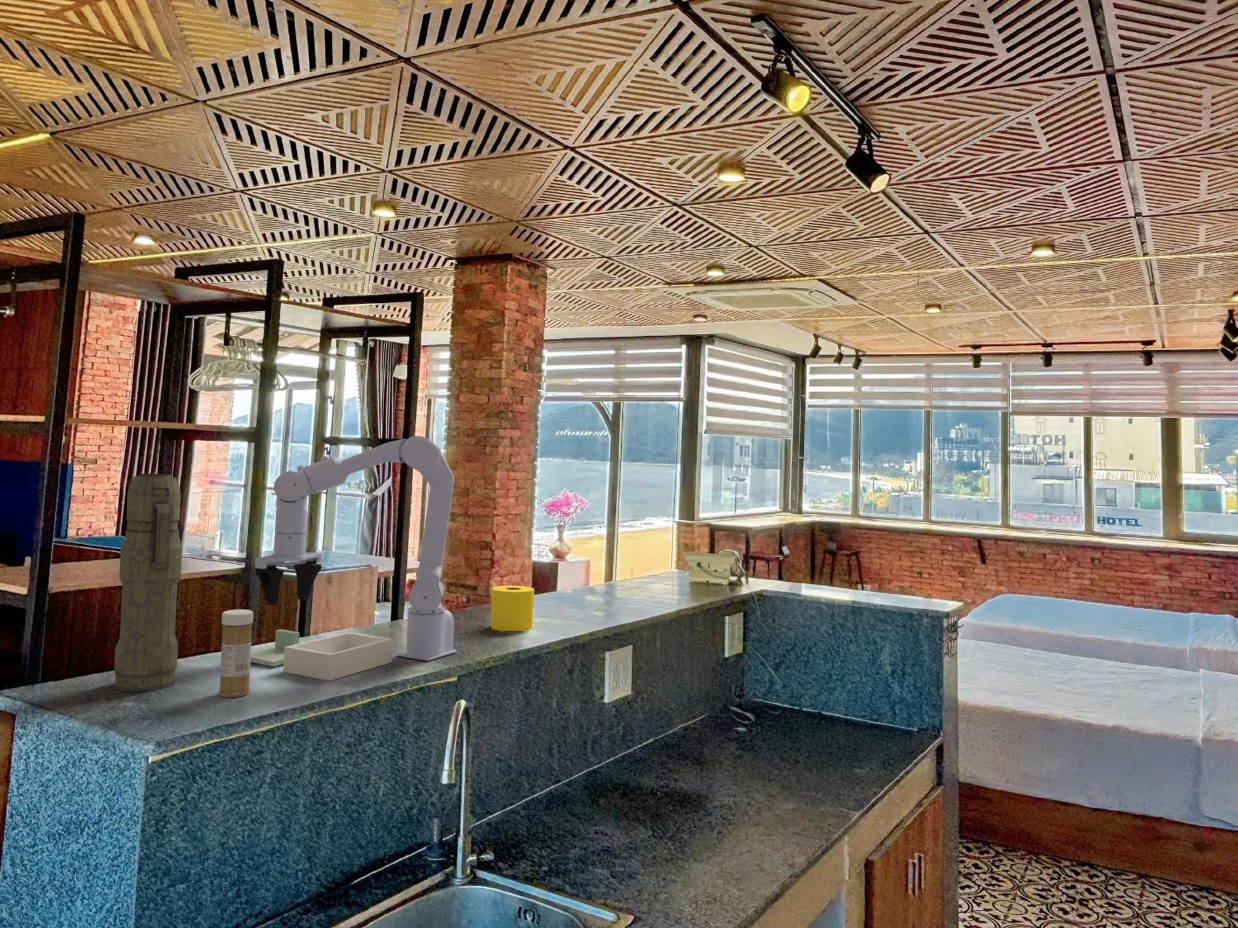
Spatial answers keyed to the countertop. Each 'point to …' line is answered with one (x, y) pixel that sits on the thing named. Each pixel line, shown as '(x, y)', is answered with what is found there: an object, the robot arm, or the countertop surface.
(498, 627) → the yellow paper roll
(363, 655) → the tub
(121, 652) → the thermos
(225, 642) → the sprinkles bottle
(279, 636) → the lid
